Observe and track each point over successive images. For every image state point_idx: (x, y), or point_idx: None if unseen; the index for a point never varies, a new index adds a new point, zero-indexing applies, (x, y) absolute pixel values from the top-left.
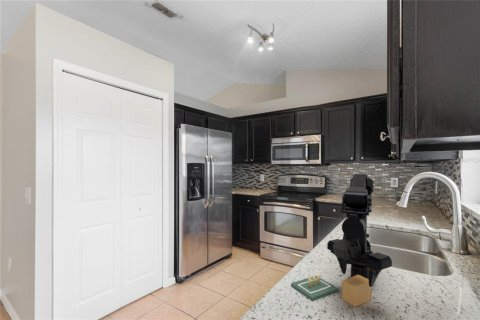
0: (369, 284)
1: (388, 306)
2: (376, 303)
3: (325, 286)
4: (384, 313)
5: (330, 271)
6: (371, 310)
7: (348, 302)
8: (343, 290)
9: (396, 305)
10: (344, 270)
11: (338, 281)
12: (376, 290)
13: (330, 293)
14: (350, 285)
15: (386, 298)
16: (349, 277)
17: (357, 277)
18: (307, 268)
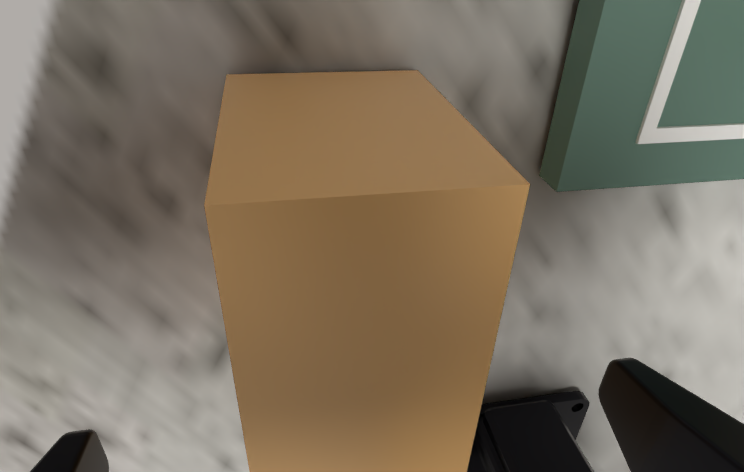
0: (62, 466)
1: (125, 385)
2: (203, 336)
3: (691, 74)
4: (29, 276)
5: (741, 363)
6: (116, 203)
7: (325, 74)
8: (436, 113)
9: (117, 442)
10: (641, 424)
11: (624, 311)
12: None
13: (578, 31)
14: (318, 188)
15: (230, 446)
16: (579, 418)
17: (420, 455)
18: None
